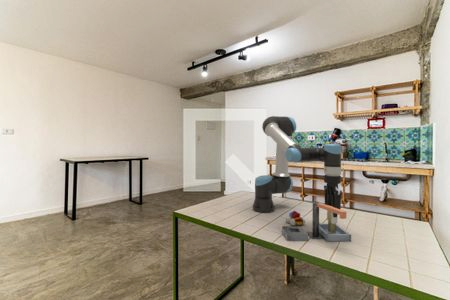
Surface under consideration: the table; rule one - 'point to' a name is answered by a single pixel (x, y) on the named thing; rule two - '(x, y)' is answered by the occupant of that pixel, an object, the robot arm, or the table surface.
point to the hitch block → (294, 233)
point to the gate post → (315, 225)
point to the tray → (334, 234)
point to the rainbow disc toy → (295, 218)
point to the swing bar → (331, 209)
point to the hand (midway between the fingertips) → (332, 221)
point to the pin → (331, 226)
